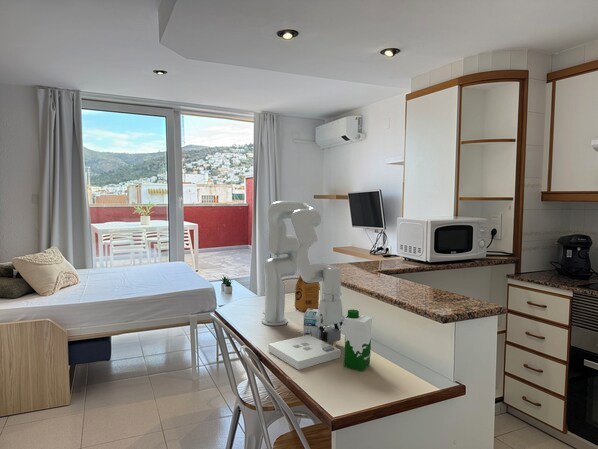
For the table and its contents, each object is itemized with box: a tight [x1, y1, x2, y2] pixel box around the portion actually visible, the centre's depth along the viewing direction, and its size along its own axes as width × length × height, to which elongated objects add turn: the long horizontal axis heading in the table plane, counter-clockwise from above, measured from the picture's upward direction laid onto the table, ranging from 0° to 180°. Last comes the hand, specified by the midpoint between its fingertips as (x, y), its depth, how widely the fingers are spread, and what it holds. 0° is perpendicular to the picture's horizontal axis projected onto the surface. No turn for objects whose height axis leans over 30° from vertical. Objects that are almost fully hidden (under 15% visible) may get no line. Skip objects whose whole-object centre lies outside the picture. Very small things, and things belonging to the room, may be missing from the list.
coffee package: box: [294, 275, 320, 312], centre depth 217 cm, size 10×12×22 cm
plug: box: [319, 325, 342, 348], centre depth 163 cm, size 6×6×6 cm
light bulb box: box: [302, 308, 321, 340], centre depth 174 cm, size 11×7×11 cm, turn 168°
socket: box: [267, 335, 342, 370], centre depth 153 cm, size 20×20×4 cm
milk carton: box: [343, 309, 373, 372], centre depth 143 cm, size 9×9×20 cm
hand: (330, 338), depth 163 cm, fingers closed on plug, 6 cm apart
